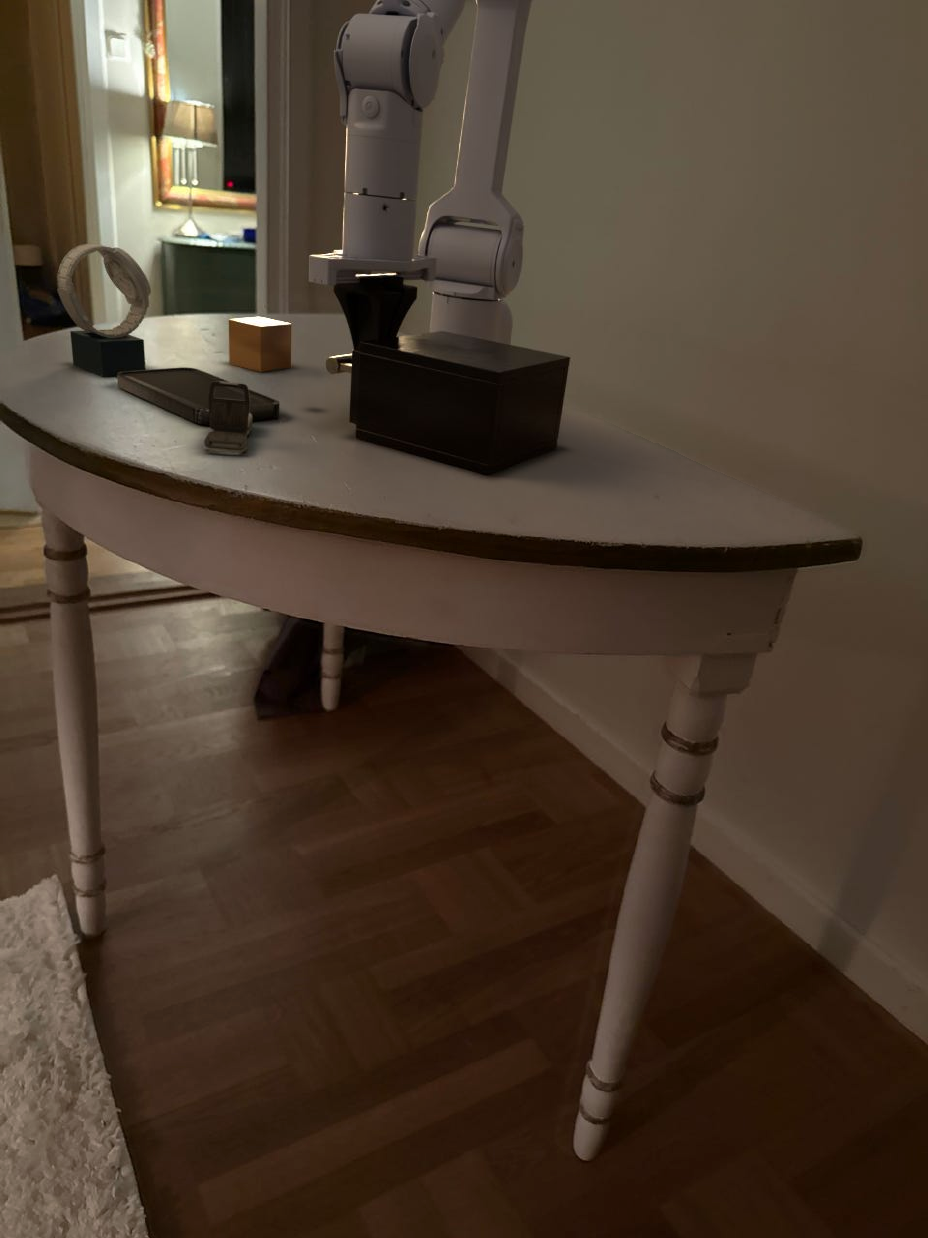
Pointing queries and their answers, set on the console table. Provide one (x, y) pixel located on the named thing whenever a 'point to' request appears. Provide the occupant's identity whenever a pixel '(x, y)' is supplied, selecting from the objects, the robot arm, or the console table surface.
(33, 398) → the console table surface
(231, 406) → the strap clip
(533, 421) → the dark brown box
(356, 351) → the drawer
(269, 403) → the phone
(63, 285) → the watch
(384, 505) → the console table surface
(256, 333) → the block
